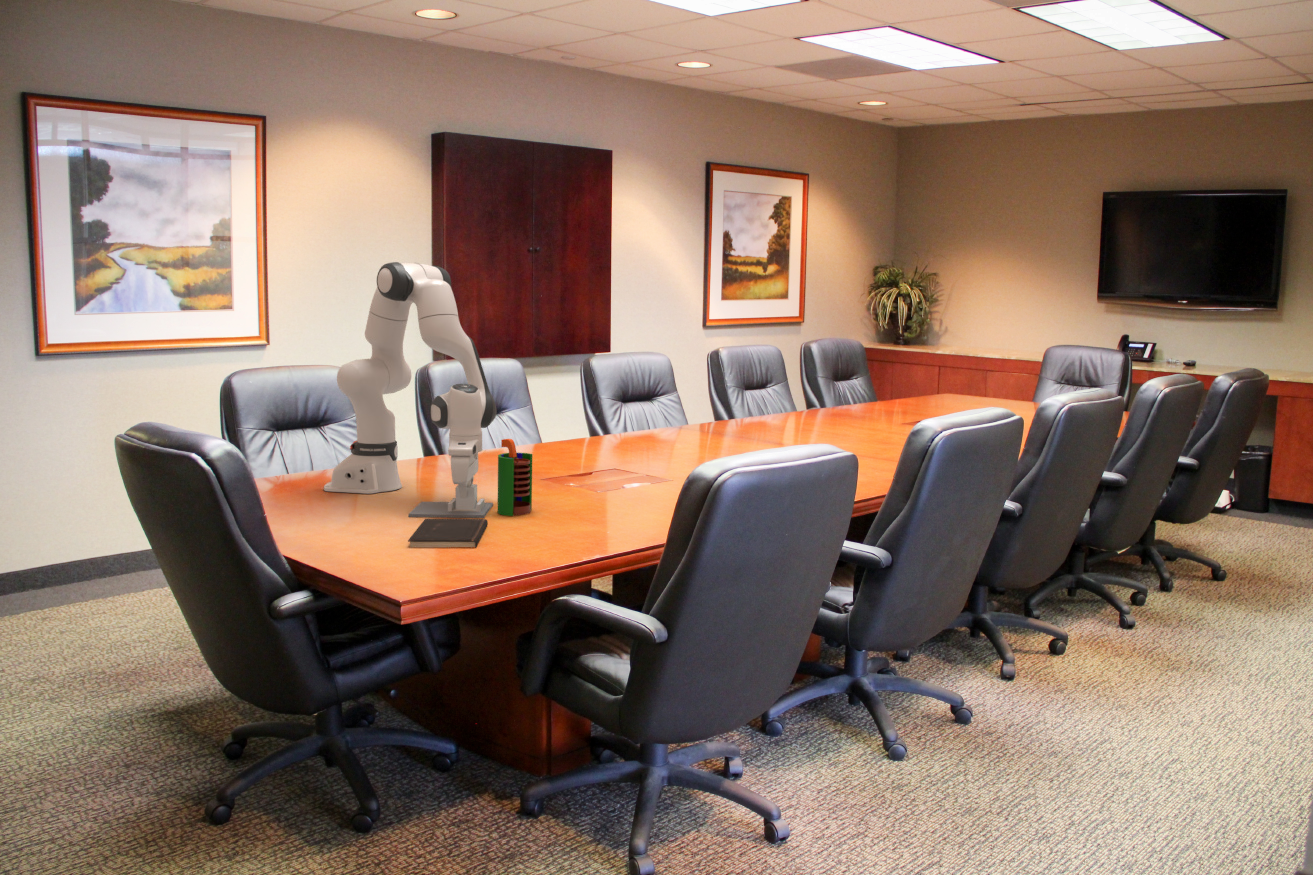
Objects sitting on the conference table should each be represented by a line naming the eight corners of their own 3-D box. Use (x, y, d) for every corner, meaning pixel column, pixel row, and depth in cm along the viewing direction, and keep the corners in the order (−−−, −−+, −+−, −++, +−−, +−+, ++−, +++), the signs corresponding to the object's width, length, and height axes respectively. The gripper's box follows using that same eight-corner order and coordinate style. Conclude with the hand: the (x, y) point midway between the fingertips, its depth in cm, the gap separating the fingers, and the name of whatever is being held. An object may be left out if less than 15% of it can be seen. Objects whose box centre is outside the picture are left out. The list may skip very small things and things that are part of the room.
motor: (523, 517, 284) (523, 443, 281) (492, 515, 286) (491, 441, 283) (535, 509, 294) (535, 437, 291) (504, 507, 295) (504, 436, 293)
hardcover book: (408, 549, 250) (407, 540, 250) (425, 527, 273) (425, 518, 273) (476, 549, 251) (476, 540, 251) (487, 527, 274) (487, 518, 273)
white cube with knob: (455, 509, 287) (455, 480, 286) (459, 505, 292) (458, 476, 291) (474, 509, 287) (473, 480, 286) (477, 505, 292) (477, 477, 291)
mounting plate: (408, 516, 282) (408, 506, 281) (421, 504, 297) (421, 494, 297) (483, 518, 282) (483, 507, 281) (492, 505, 298) (492, 495, 297)
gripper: (461, 438, 297) (461, 487, 299) (446, 450, 277) (447, 502, 279) (483, 439, 297) (483, 487, 299) (471, 450, 277) (471, 502, 279)
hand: (466, 494), depth 289 cm, fingers open, 7 cm apart
